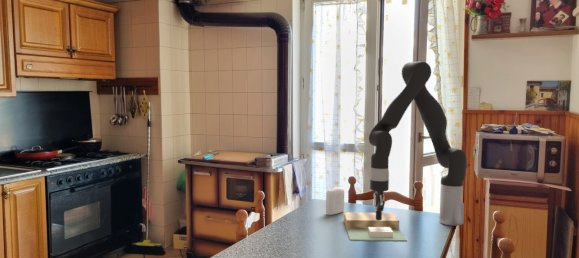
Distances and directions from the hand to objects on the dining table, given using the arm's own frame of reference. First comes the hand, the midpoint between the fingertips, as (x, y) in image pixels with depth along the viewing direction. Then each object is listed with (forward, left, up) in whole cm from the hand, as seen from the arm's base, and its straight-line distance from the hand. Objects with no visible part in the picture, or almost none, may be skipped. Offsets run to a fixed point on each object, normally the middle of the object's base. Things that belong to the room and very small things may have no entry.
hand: (378, 219), depth 180 cm
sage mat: (+2, +5, -5) cm, 7 cm away
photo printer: (+16, -27, -5) cm, 32 cm away
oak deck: (+2, -8, -5) cm, 10 cm away
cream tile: (0, +5, -3) cm, 5 cm away
